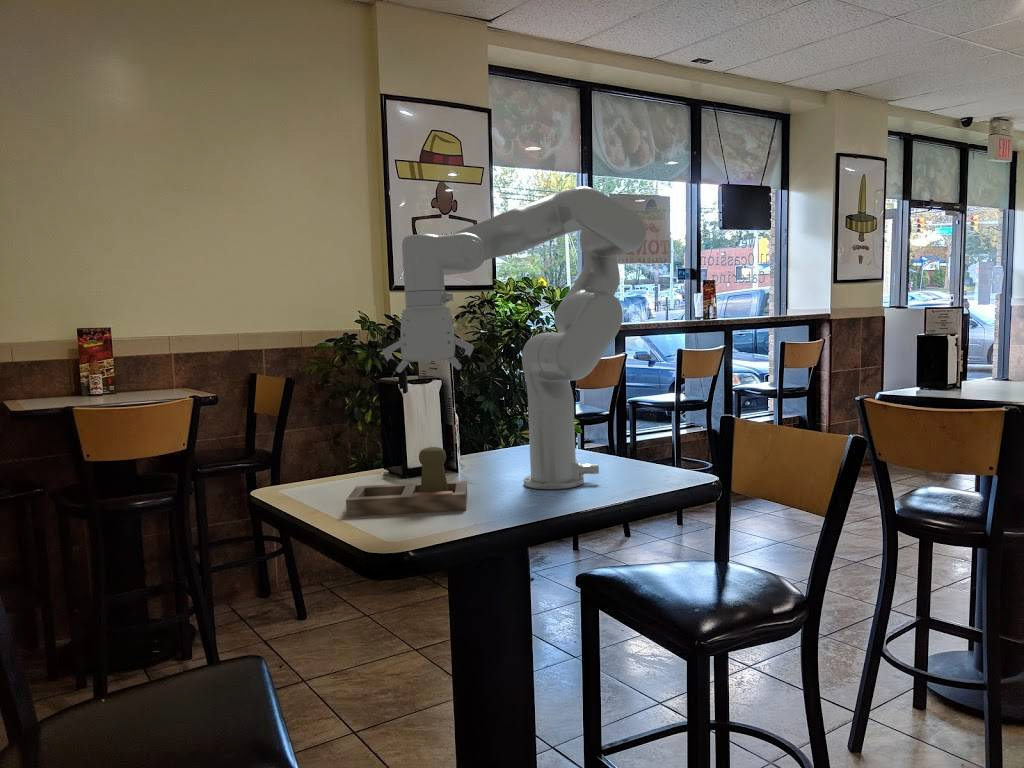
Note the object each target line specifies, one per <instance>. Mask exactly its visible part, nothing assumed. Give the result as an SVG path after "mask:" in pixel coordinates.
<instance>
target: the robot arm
mask: <svg viewBox="0 0 1024 768" xmlns="http://www.w3.org/2000/svg"><path fill="white" fill-rule="evenodd" d="M577 231H578V232H579V231H580V234H579V243H580V249H581V252H582V258H583V266H582V271H581V272H580V274H579V276H578V278H577V279H576V280H575V282H574V283H573V284H572V286H571V288H570V289H569V291H568V292H567V293H566V295H565V296H564V298H563V299H562V301H561V302H560V304H558V306H557V308H556V310H555V313H554V317H553V318H554V319H553V320H554V325H555V326H554V327H555V328H556V329H557V332H553V331H552V332H540V333H537V334H535V335H533V336H532V337H530V338H529V339H528V340H527V341H526V343H525V344H524V346H523V349H522V353H521V364H522V369H523V374H524V379H525V383H526V393H527V407H528V408H527V409H528V411H527V413H528V432H529V433H528V434H529V435H528V437H529V440H528V441H529V457H530V458H529V460H530V463H529V464H530V475H527V476H525V477H524V478H523V485H524V486H526V487H527V488H531V489H535V490H536V489H537V490H563V489H571V488H575V487H579V486H581V485H583V484H584V483H585V477H584V475H585V474H586V475H588V474H590V475H596V474H599V472H600V469H599V464H598V463H597V464H591V463H585V464H583V463H579V461H578V460H577V459H576V458H577V457H576V434H575V433H576V432H575V430H576V428H575V399H574V393H573V389H572V386H571V382H572V381H579V380H582V379H584V378H585V377H587V376H588V375H590V373H592V371H593V370H594V369H595V368H596V366H597V365H598V363H600V360H601V359H602V358H603V356H604V355H605V353H606V351H607V350H608V348H609V347H610V346H611V344H612V343H613V341H614V340H615V338H616V337H617V335H618V333H619V331H620V330H621V326H622V323H623V315H624V314H623V313H624V311H623V307H622V304H621V302H620V300H619V299H618V298H617V296H615V295H616V293H617V291H618V288H619V286H620V282H621V281H620V279H621V275H620V269H619V264H618V259H617V256H616V255H623V254H628V253H632V252H636V251H637V250H638V249H640V248H641V247H642V246H643V245H644V243H645V240H646V238H647V226H646V224H645V222H644V219H643V218H642V217H641V215H639V214H638V213H637V212H636V211H635V210H633V209H632V208H630V207H628V206H626V205H624V204H622V203H621V202H619V201H618V200H616V199H614V198H613V197H610V196H609V195H607V194H605V193H603V192H601V191H599V190H597V189H595V188H592V187H589V186H583V185H582V186H577V187H573V188H570V189H566V190H562V191H558V192H555V193H552V194H550V195H547V196H543V197H542V198H539V199H537V200H534V201H531V202H529V203H526V204H523V205H520V206H518V207H515V208H512V209H510V210H507V211H504V212H502V213H500V214H498V215H494V216H493V217H491V218H488V219H487V220H484V221H481V222H479V223H476V224H473V225H471V226H468V227H464V228H463V229H460V230H457V231H455V232H452V233H449V234H442V235H441V234H440V235H437V234H432V233H419V234H410V235H407V236H405V237H404V238H403V239H402V242H401V250H402V253H401V254H402V268H403V283H404V302H405V303H404V304H405V309H402V312H401V317H400V318H401V320H400V339H399V340H398V341H395V342H394V343H392V344H390V345H389V346H387V347H385V348H383V349H382V351H381V353H382V355H383V356H384V358H385V360H386V362H387V364H388V365H389V366H391V367H392V369H394V371H396V372H397V373H398V375H397V376H398V389H399V390H402V394H407V393H408V392H409V385H408V383H409V382H408V373H407V372H408V371H406V368H407V366H408V364H409V363H415V362H416V363H419V362H437V361H438V362H439V361H440V362H441V361H448V362H449V363H450V364H451V365H452V366H453V369H452V381H453V382H452V383H453V391H457V392H458V390H459V387H462V374H461V372H462V371H461V369H462V368H463V367H464V366H465V364H466V363H467V362H468V361H469V360H470V357H471V356H472V353H473V351H474V349H475V346H474V344H472V343H469V342H467V341H465V340H463V339H460V338H458V337H456V336H455V327H454V322H453V316H452V315H453V314H452V311H451V308H450V307H447V306H446V304H448V302H453V301H454V297H453V296H454V295H453V293H448V292H446V291H445V290H446V288H445V276H451V275H457V274H465V273H470V272H474V271H476V270H478V269H479V268H480V267H481V266H482V265H483V264H484V262H485V261H488V260H492V259H495V258H500V257H505V256H510V255H514V254H519V253H521V252H525V251H528V250H530V249H532V248H535V247H538V246H540V245H542V244H545V243H547V242H549V241H552V240H554V239H557V238H559V237H562V236H564V235H567V234H571V233H573V232H577ZM558 331H559V332H558ZM456 346H458V347H461V348H462V349H464V350H465V351H464V354H463V356H462V357H461V358H460V359H458V358H456ZM398 349H400V355H401V358H402V360H401V361H400V363H399V361H397V360H396V359H395V358H394V357H393V356H394V355H393V354H392V353H393V352H394V351H396V350H398ZM570 381H571V382H570Z"/></svg>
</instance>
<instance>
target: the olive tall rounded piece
mask: <svg viewBox="0 0 1024 768" xmlns="http://www.w3.org/2000/svg"><path fill="white" fill-rule="evenodd" d="M446 460H447V454H446V450H445V449H444V448H443V447H439V446H438V447H437V446H430V447H429V446H428V447H426V448H425V447H424V448H422V449H421V450H420V451H419V453H418V461H419V464H420V465H421V479H420V480H421V481H420V483H421V489H420V493H422V492H442V491H448V485H447V482H448V481H447V475H446V470H445V465H444V464H445V462H446Z"/></svg>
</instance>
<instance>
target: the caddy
mask: <svg viewBox="0 0 1024 768" xmlns="http://www.w3.org/2000/svg"><path fill="white" fill-rule="evenodd" d="M447 485H448V491H442V492H422V493H420V489H421V482H416V483H415V482H413V483H412V482H411V483H395V484H394V483H393V484H375V485H374V484H373V485H356V486H355V487H354V489H353V490H352V491H351V493H350V494H349V495H348V497H347V498H346V499H345V508H346V516H347V517H354V516H355V517H357V516H358V517H359V516H375V515H391V514H392V515H395V514H397V515H398V514H413V513H414V514H416V513H432V512H433V513H434V512H435V513H436V512H452V511H455V512H456V511H467V504H468V482H467V480H457V481H456V480H455V481H454V480H453V481H447Z"/></svg>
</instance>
